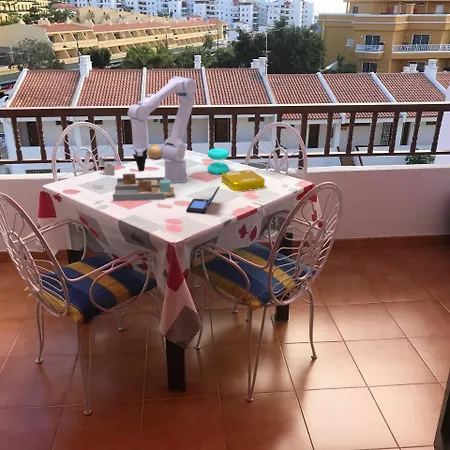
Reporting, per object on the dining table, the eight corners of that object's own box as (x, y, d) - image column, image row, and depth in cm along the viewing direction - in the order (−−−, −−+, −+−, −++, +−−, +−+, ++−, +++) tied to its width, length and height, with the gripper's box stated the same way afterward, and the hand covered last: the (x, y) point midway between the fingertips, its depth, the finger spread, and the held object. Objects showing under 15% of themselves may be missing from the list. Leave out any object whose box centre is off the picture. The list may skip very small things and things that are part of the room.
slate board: (164, 182, 208) (164, 177, 207) (164, 199, 190) (164, 193, 189) (117, 183, 206) (117, 178, 205) (113, 200, 188) (112, 194, 187)
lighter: (114, 174, 217) (113, 157, 214) (113, 175, 216) (111, 158, 212) (100, 173, 219) (98, 156, 215) (98, 174, 217) (96, 157, 214)
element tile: (234, 193, 199) (234, 182, 197) (219, 182, 211) (220, 171, 209) (265, 189, 204) (266, 178, 202) (250, 178, 217) (250, 168, 215)
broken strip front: (138, 182, 205) (137, 171, 203) (137, 188, 198) (136, 177, 196) (124, 182, 205) (123, 171, 203) (122, 188, 198) (122, 177, 196)
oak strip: (173, 188, 198) (173, 177, 196) (174, 195, 192) (173, 184, 190) (139, 189, 197) (139, 178, 195) (138, 196, 190) (138, 184, 188)
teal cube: (170, 188, 196) (169, 179, 195) (170, 192, 193) (170, 182, 191) (160, 188, 196) (160, 179, 194) (160, 192, 192) (159, 182, 191)
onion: (165, 156, 245) (165, 142, 242) (160, 160, 238) (160, 146, 235) (150, 155, 246) (149, 141, 243) (145, 159, 239) (144, 145, 236)
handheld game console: (193, 200, 190) (193, 183, 187) (219, 203, 188) (220, 185, 185) (185, 213, 179) (184, 194, 176) (213, 215, 177) (213, 196, 174)
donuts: (233, 150, 221) (220, 155, 213) (232, 170, 225) (220, 176, 217) (215, 146, 226) (203, 151, 218) (215, 166, 230) (203, 172, 223)
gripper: (130, 131, 197) (132, 163, 202) (128, 140, 184) (131, 174, 189) (147, 130, 197) (149, 162, 203) (147, 140, 184) (149, 173, 190)
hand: (141, 168), depth 196 cm, fingers open, 7 cm apart
